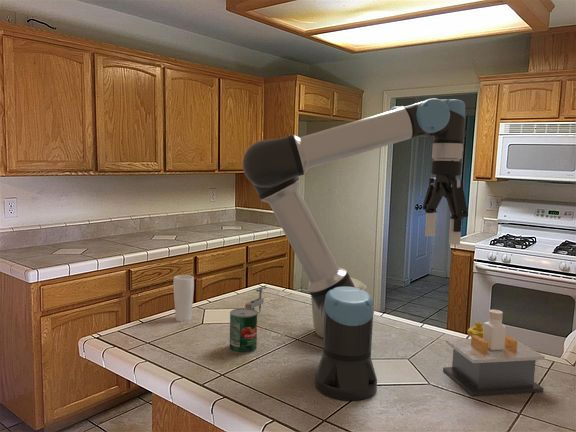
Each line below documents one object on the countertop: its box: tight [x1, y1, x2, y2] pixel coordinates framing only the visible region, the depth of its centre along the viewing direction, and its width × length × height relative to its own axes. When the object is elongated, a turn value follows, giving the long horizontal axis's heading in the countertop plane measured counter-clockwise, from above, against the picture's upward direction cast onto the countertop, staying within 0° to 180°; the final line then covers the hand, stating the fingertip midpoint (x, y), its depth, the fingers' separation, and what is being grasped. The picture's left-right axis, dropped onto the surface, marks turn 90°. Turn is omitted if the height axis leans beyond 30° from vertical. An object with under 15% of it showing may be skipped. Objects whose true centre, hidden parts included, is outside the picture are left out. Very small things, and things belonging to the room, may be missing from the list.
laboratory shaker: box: [442, 333, 546, 397], centre depth 121 cm, size 19×14×11 cm
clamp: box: [244, 286, 267, 313], centre depth 168 cm, size 15×2×10 cm, turn 160°
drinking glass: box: [172, 274, 195, 323], centre depth 161 cm, size 7×7×15 cm
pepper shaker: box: [483, 309, 507, 350], centre depth 120 cm, size 4×4×10 cm
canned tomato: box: [229, 307, 258, 354], centre depth 138 cm, size 8×8×11 cm
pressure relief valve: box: [467, 321, 484, 338], centre depth 134 cm, size 6×12×10 cm, turn 51°
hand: (441, 240), depth 127 cm, fingers open, 13 cm apart
